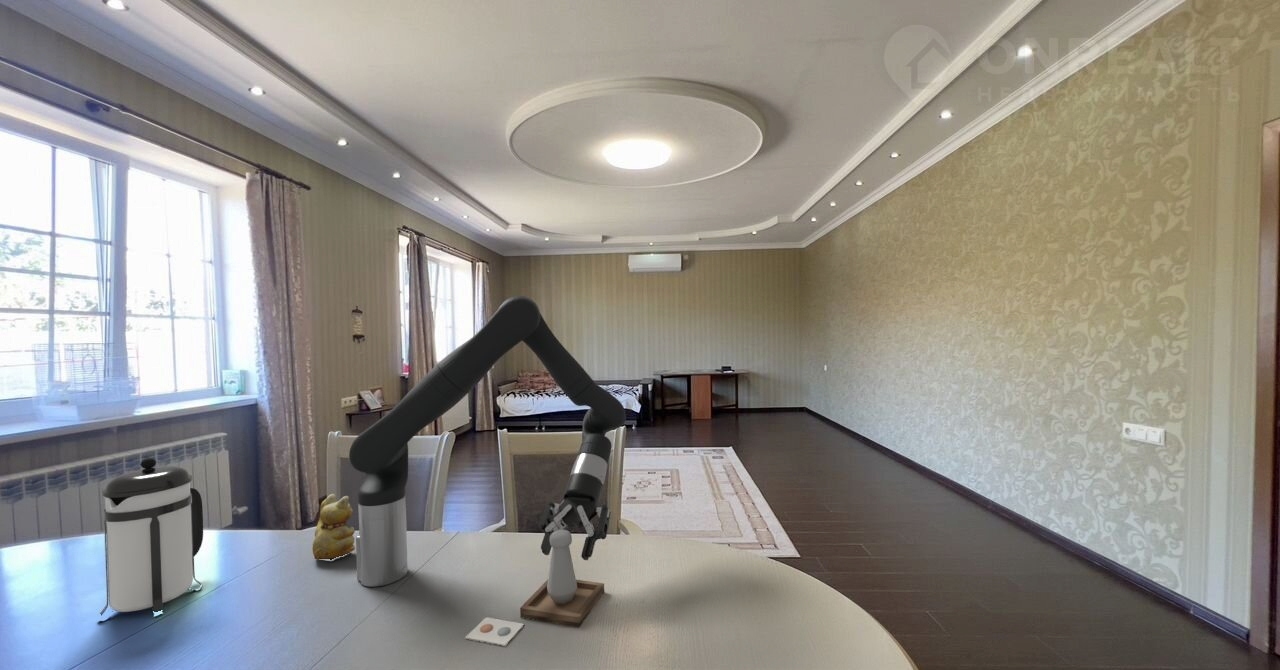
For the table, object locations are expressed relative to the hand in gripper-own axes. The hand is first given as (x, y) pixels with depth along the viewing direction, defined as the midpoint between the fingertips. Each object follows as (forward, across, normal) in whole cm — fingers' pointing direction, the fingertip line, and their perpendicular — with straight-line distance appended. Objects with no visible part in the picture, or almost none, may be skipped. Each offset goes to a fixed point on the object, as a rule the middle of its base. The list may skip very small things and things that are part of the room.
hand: (564, 556), depth 93 cm
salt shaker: (+6, -1, +6) cm, 9 cm away
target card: (+15, -8, -2) cm, 17 cm away
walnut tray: (+7, 0, +6) cm, 9 cm away
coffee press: (+21, -83, -9) cm, 86 cm away
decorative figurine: (+4, -64, +8) cm, 65 cm away
